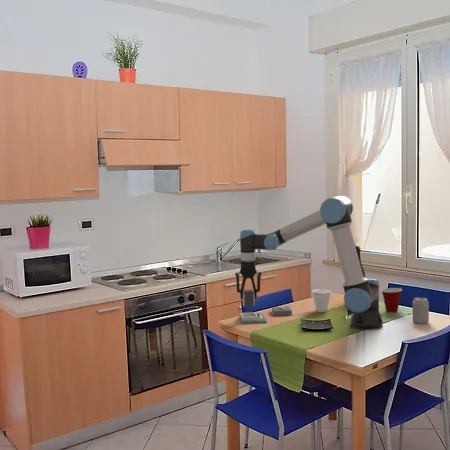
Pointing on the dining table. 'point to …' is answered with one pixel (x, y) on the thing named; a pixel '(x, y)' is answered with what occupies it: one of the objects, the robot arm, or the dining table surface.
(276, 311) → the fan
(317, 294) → the cup
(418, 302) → the can
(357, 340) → the dining table surface
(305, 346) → the dining table surface
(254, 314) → the board
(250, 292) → the plug
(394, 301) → the plastic cup
